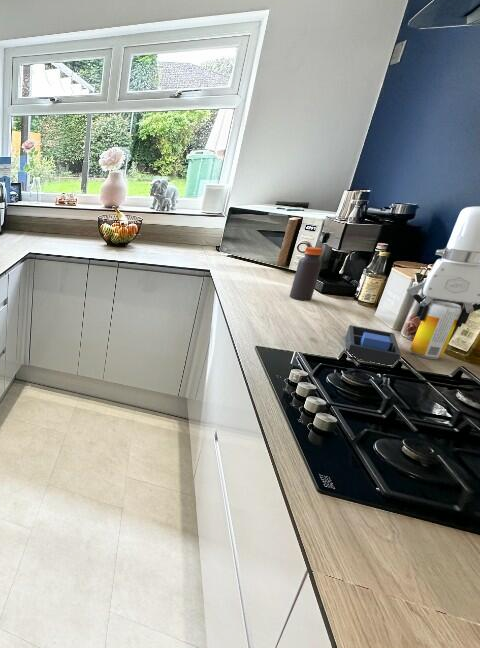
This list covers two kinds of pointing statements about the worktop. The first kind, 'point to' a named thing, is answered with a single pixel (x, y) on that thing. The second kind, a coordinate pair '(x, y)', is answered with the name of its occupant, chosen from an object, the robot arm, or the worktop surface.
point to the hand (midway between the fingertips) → (438, 321)
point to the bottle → (307, 274)
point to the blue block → (375, 341)
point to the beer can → (435, 329)
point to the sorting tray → (368, 353)
